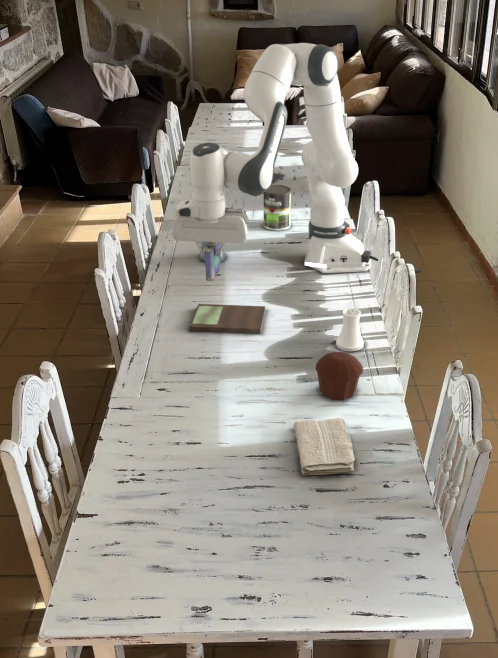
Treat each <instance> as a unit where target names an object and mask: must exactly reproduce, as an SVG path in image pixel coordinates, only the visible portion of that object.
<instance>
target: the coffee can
mask: <svg viewBox="0 0 498 658" xmlns="http://www.w3.org/2000/svg"><path fill="white" fill-rule="evenodd" d="M291 194H292V189H291V187H289V186H288V185H283V184H271V185H270V187H269V188H268V189H267V190H266V191H265V192H264V193H263V227H264V228H265V229H266V230H269V231H277V232H278V231H286V230H288V229H290V228H291V208H292V207H291V205H292V204H291V203H292V202H291V201H292V200H291V198H292V195H291Z"/></svg>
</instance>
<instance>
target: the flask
mask: <svg viewBox="0 0 498 658" xmlns="http://www.w3.org/2000/svg"><path fill="white" fill-rule="evenodd" d="M217 249H220V242H209V243H208V244H207V246H206V248H205V261H204V262H205V263H204V264H205V279H206V281H207V282H213V281H215V280H216V277H218V274H219V272H220V271H221V270H222V269H221V266H222V265H221V262H220V257H216V250H217Z"/></svg>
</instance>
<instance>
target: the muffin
mask: <svg viewBox="0 0 498 658" xmlns="http://www.w3.org/2000/svg"><path fill="white" fill-rule="evenodd" d="M315 371H316V372H317V373H316V374H317V379H318V386H319V391H320V392H321V394H322V396H323V397H325V398H328V399H330V400H332V401H345V400H347V399H351V398H353V397H354V394H355V393H356V391H357V389H358V388H357V387H358V384H359V380H360V376H361V375H363V373H364V366H363V365H362V363H361V362H360V361H359V360H358V358H357V357H356V356H355V355H352V354H350V353H349V352H347V351H340V350H339V351H331V352H327V353H325V354H324V355H322V357H320V358H319V359H318V360H317V362H316V363H315Z"/></svg>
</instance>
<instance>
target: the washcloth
mask: <svg viewBox="0 0 498 658" xmlns="http://www.w3.org/2000/svg"><path fill="white" fill-rule="evenodd" d="M293 428H294V433H295V439H296V447H297V451H298V456H299V463H300V469H301V471H300V472H301V474H302V476H312V475H314V476H315V475H317V476H322V475H337V474H349V473H353V472H354V470H355V466H354V462H355V459H356V458H355V454H354V447H353V443H352V441H351V437H350V432H349V431H348V427H347V424H346V421H345V419H344V418H343V417H338V418H337V417H336V418H335V417H334V418H328V419H324V420H323V419H322V420H310V419H309V420H299V421H294V423H293Z"/></svg>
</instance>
